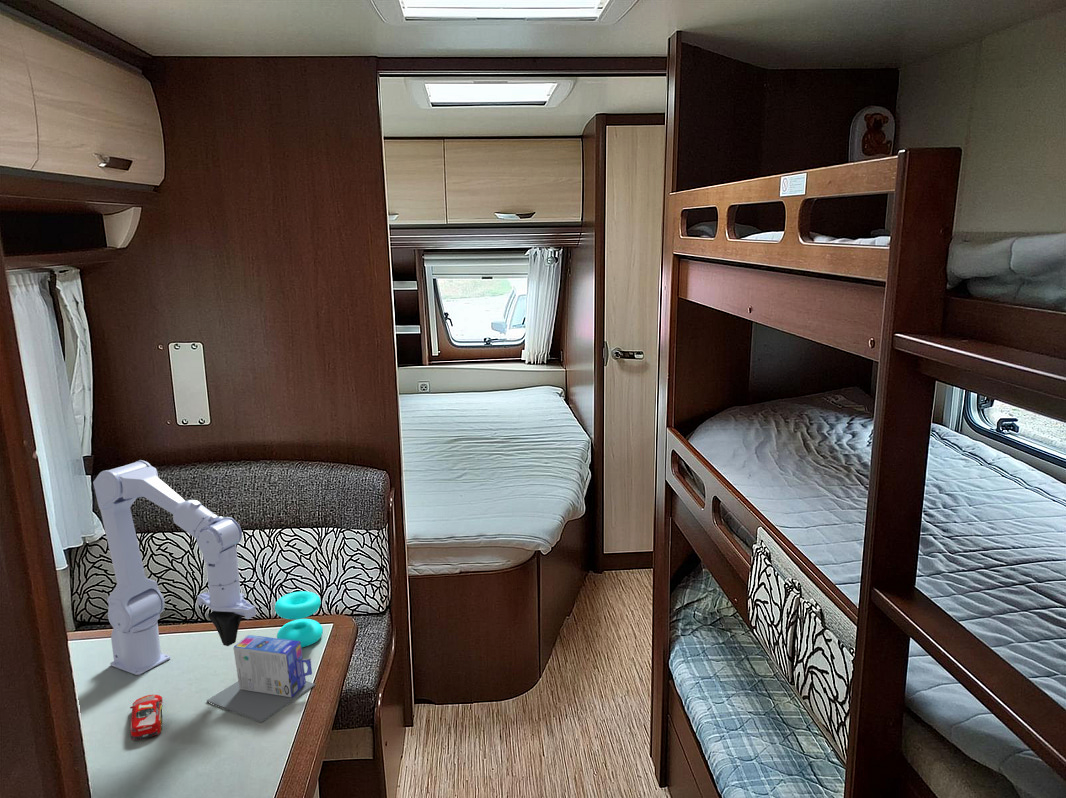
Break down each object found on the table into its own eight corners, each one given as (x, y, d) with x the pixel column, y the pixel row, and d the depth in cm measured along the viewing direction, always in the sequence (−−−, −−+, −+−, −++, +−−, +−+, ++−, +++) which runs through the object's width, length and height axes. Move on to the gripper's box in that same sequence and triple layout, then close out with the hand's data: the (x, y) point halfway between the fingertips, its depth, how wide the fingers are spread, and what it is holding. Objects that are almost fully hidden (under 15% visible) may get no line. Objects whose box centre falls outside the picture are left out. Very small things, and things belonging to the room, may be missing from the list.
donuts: (311, 608, 164) (266, 608, 165) (314, 651, 166) (270, 650, 167) (326, 589, 174) (284, 588, 175) (329, 629, 176) (287, 628, 176)
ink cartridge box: (256, 674, 155) (317, 685, 151) (238, 690, 150) (301, 702, 146) (249, 632, 153) (312, 641, 149) (232, 647, 148) (295, 657, 144)
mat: (206, 702, 147) (206, 700, 147) (262, 668, 159) (262, 666, 159) (261, 722, 140) (261, 720, 140) (315, 685, 152) (315, 683, 152)
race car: (133, 708, 146) (131, 689, 145) (164, 701, 148) (162, 682, 147) (128, 746, 134) (125, 726, 133) (161, 738, 136) (159, 718, 135)
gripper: (265, 579, 149) (270, 642, 152) (215, 566, 156) (221, 627, 158) (236, 593, 143) (242, 658, 146) (185, 579, 150) (192, 642, 152)
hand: (229, 643), depth 152 cm, fingers closed
